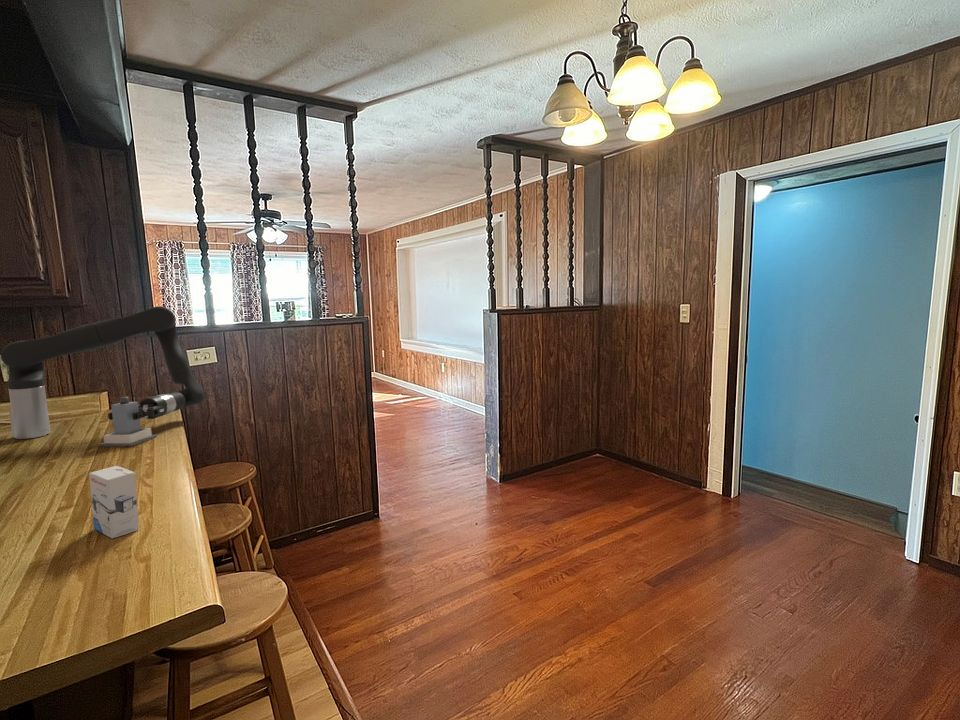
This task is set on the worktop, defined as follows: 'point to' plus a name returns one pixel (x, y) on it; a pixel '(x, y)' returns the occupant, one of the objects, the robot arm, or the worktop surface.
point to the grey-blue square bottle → (125, 417)
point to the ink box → (114, 501)
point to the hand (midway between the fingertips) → (121, 416)
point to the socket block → (127, 438)
